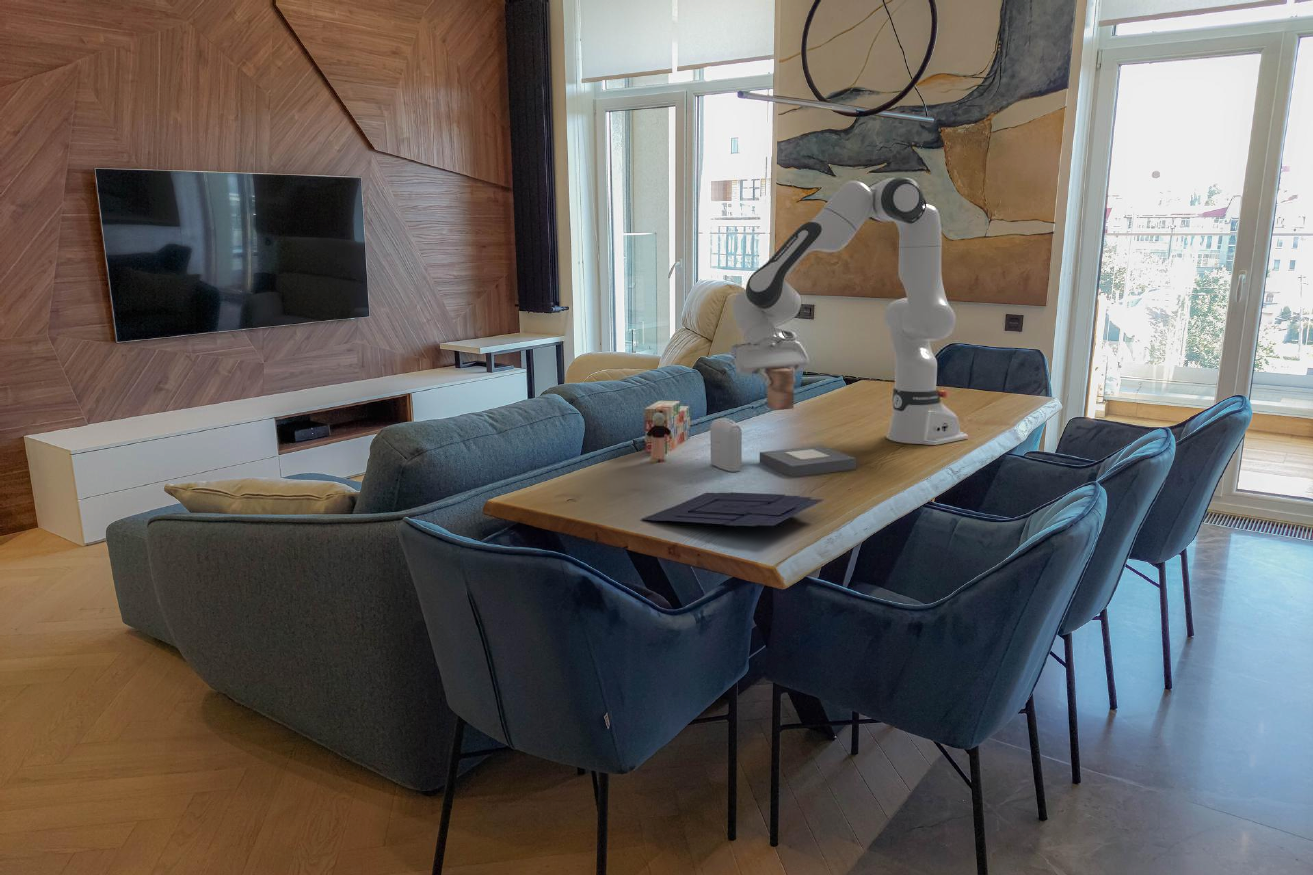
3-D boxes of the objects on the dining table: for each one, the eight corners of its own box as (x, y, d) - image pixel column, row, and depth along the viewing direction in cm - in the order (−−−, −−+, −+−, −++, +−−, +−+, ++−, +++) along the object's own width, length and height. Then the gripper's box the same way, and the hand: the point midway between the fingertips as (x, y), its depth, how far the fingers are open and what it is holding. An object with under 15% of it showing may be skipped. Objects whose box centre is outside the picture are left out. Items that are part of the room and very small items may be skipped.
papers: (769, 543, 161) (767, 523, 160) (640, 532, 179) (638, 515, 179) (830, 510, 180) (828, 493, 179) (708, 504, 198) (706, 488, 197)
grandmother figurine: (651, 464, 225) (650, 415, 222) (643, 461, 228) (642, 412, 225) (676, 459, 229) (675, 411, 226) (667, 457, 232) (667, 409, 230)
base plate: (820, 455, 231) (820, 444, 231) (856, 469, 217) (856, 457, 216) (759, 462, 225) (759, 451, 224) (792, 477, 210) (792, 464, 210)
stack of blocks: (669, 436, 258) (669, 394, 255) (690, 437, 256) (690, 395, 253) (645, 452, 238) (644, 407, 236) (667, 454, 236) (666, 408, 234)
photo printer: (708, 464, 224) (708, 416, 221) (722, 462, 226) (722, 414, 223) (728, 473, 215) (729, 423, 212) (744, 471, 217) (744, 421, 214)
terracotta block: (783, 405, 234) (783, 367, 232) (793, 408, 230) (793, 370, 227) (767, 407, 232) (767, 369, 230) (776, 410, 228) (776, 371, 226)
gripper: (731, 337, 230) (749, 379, 223) (800, 332, 237) (819, 373, 230) (724, 352, 235) (741, 394, 228) (791, 347, 242) (810, 387, 235)
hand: (781, 383), depth 229 cm, fingers closed on terracotta block, 5 cm apart
